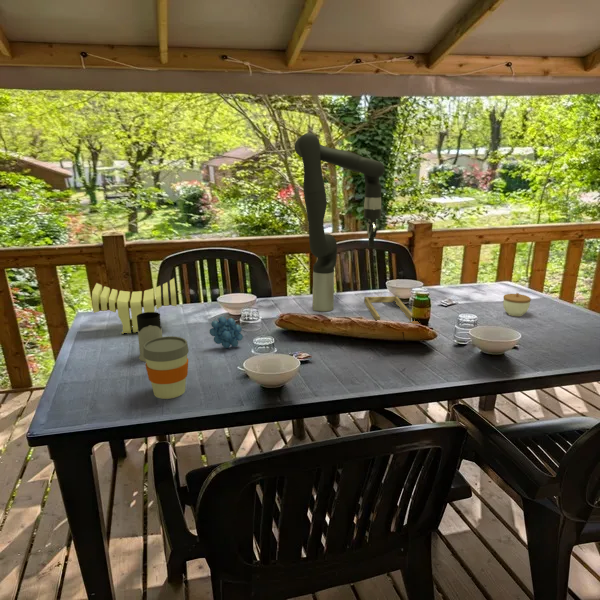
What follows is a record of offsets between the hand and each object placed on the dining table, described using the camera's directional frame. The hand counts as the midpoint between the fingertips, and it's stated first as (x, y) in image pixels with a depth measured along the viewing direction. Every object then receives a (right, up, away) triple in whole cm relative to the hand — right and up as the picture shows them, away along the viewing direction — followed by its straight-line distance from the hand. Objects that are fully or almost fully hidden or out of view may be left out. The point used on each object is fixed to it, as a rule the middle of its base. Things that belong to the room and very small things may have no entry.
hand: (371, 246), depth 223 cm
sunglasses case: (+11, -38, -33) cm, 52 cm away
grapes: (-58, -42, -47) cm, 86 cm away
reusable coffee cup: (-71, -52, -79) cm, 118 cm away
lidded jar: (+61, -31, -11) cm, 69 cm away
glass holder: (-84, -44, -52) cm, 108 cm away
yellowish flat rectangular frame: (+6, -30, -7) cm, 31 cm away
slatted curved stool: (-97, -36, -26) cm, 106 cm away
